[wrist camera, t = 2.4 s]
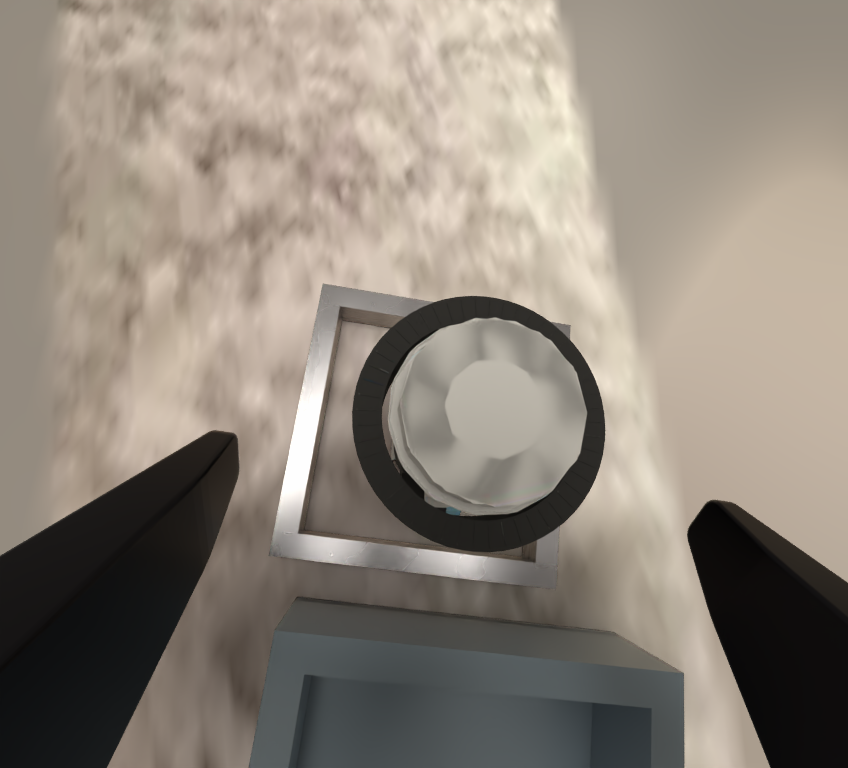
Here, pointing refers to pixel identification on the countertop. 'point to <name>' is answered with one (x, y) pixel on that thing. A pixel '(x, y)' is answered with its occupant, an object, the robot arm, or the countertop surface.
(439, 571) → the silver picture frame
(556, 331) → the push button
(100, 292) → the countertop surface
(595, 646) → the plastic bin
